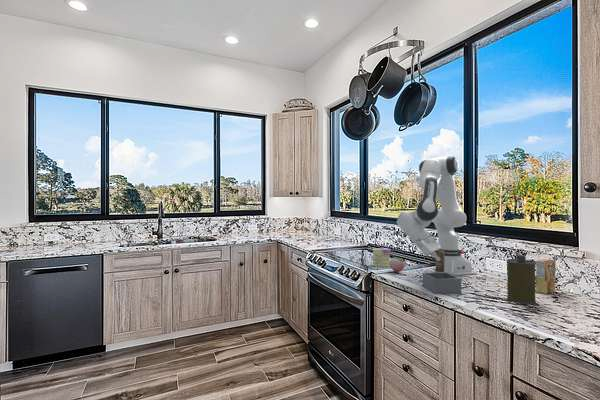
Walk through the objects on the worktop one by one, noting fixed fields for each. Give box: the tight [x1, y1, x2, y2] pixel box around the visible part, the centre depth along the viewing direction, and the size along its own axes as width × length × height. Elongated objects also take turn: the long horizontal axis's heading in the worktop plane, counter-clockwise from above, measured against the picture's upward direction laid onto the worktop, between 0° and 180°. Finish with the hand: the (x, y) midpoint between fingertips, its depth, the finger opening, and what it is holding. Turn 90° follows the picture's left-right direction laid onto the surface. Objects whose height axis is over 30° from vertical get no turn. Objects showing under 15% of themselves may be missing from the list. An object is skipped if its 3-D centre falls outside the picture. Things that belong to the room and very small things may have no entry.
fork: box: [405, 260, 427, 269], centre depth 210 cm, size 3×20×2 cm, turn 21°
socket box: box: [422, 271, 462, 295], centre depth 153 cm, size 13×13×7 cm
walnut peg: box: [434, 250, 445, 273], centre depth 153 cm, size 4×4×10 cm
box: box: [372, 247, 391, 268], centre depth 208 cm, size 10×6×12 cm, turn 84°
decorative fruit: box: [389, 256, 406, 273], centre depth 190 cm, size 9×8×10 cm
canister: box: [506, 254, 537, 305], centre depth 136 cm, size 11×10×20 cm
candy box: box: [535, 258, 556, 295], centre depth 148 cm, size 9×4×15 cm, turn 116°
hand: (441, 259), depth 153 cm, fingers closed on walnut peg, 4 cm apart
